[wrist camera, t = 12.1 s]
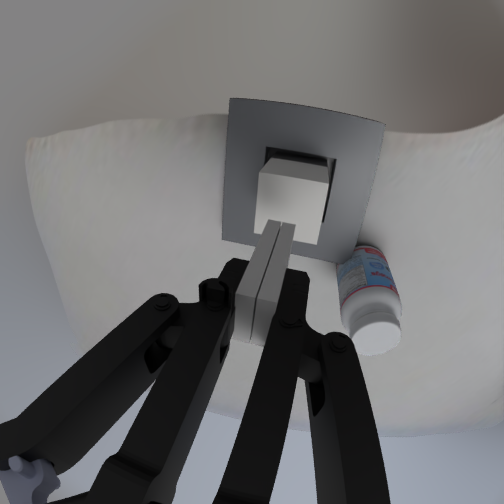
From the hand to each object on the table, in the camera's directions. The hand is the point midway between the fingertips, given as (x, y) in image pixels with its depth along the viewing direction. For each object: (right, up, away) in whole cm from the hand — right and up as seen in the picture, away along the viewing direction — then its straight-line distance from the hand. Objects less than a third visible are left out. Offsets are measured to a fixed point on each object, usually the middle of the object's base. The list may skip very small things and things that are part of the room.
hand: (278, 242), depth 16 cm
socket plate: (+3, +7, +11) cm, 13 cm away
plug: (+3, +7, +11) cm, 13 cm away
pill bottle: (+11, -2, +14) cm, 18 cm away
